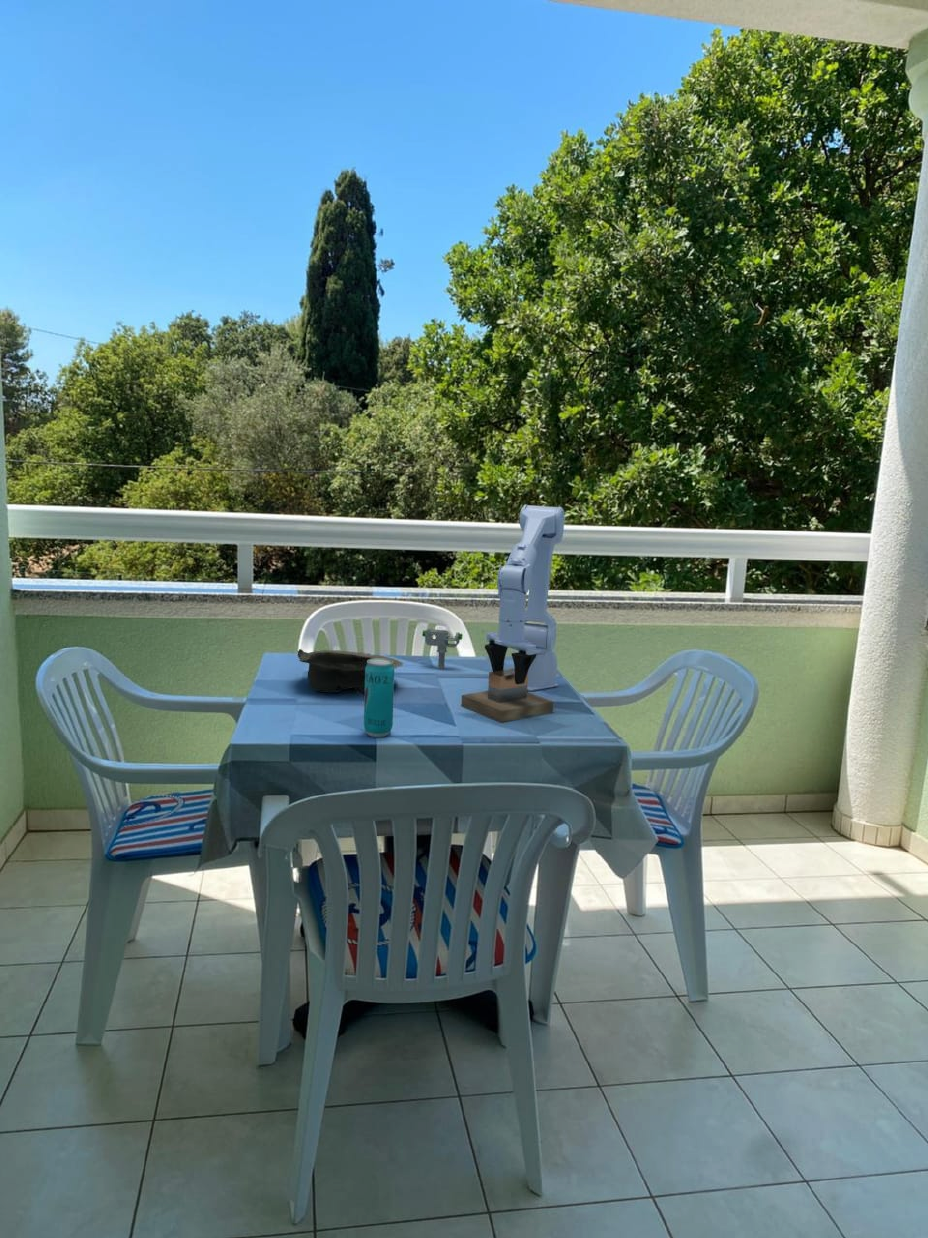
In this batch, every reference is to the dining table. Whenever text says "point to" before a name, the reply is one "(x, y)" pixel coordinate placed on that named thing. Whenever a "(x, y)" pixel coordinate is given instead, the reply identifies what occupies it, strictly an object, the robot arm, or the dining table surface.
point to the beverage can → (378, 697)
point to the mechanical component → (441, 642)
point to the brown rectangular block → (506, 686)
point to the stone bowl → (338, 669)
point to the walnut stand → (507, 706)
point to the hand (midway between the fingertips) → (508, 679)
